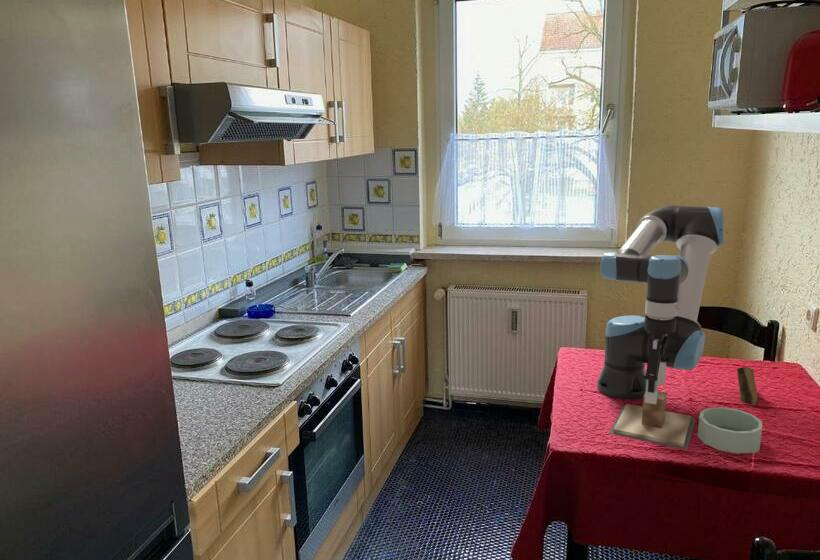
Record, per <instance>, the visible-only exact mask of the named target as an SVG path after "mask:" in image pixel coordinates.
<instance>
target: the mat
mask: <svg viewBox="0 0 820 560" xmlns="http://www.w3.org/2000/svg"><path fill="white" fill-rule="evenodd" d="M625 406H626V404H625V405H622V407H621V409H620V411H619V413H618V415H617V417H616V419H615V420H614V422H613V424H612V426H611V428H610V430H609V431H608V434H610V435H613V436H619V437H623V438H628V439H633V440H637V441H642V442H647V443H652V444H657V445H662V446H667V447H672V448H676V449H679V450H680V449H681V450H686V451H688V449H689V445H690V442H691V438H692V434H693V429H694V426H695V422H696V418H695V417H691V422H690V425H689V429H688V433H687V436H686V440H685V443H684V447H680V446H676V445H671V444H666V443H661V442H656V441H652V440H647V439H642V438H637V437H633V436H628V435H623V434H618V433H614V432H613V431H614V427H615V425H616V423H617V422H618V420H619V418H620V416H621V414H622V412H623V410H624V408H625Z"/></svg>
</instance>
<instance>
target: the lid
mask: <svg viewBox="0 0 820 560" xmlns="http://www.w3.org/2000/svg"><path fill="white" fill-rule="evenodd" d="M645 393H646V392H645ZM667 394H668V393H667V392H662V391H657V403H656V404H651V403H645V395H644V398H642V399H643V401H642V406H640V405H634V404H629V403H626V404H625V408H624V410H623V412H622V414H621V416H620V418H619V420H618V422H617V423H616V425H615V427H614V431H613V432H614V433H618V434H623V435H628V436H633V437H637V438H642V439H647V440H652V441H656V442H661V443H666V444H671V445H676V446H680V447H684V443H685V440H686V436H687V433H688V429H689V425H690V422H691V418H692V415H688V414H683V413H677V412H671V411H666V405H667V396H668V395H667Z"/></svg>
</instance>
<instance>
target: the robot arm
mask: <svg viewBox="0 0 820 560" xmlns="http://www.w3.org/2000/svg"><path fill="white" fill-rule="evenodd" d="M724 212H725V211H724V210H723V209H722V208H721V207H715V206H713V207H712V206H709V205H707V206H692V205H691V206H688V205H673V204H672V205H664V206H661V207H657V208H656V209H654V210H651V211H650V212H647V213H646V214H644V215H643V216H641V218H640V219H639V220H638V221H637V222H636V224H635V228H634V231H633V233H632V234H631V235H630V236H629V237H628V238H627V240H626V241H625V242H624V244H622V246H621V247H620V248H619V250H618V251H617V252H614V251H613V252H605V253H603V255H602V257H601V260H600V264H599V265H600V266H599V269H600V276H601V277H602V278H603V279H605V280H613V281H618V282H619V281H621V282H631V283H632V282H633V283H640V284H646V285H647V286H646V287H647V288H646V297H645V307H644V313H645V316H641V315H621V316H617V317H613V318H611V319H610V320H608V321H607V323H606V327H605V333H604V336H605V341H604V360H603V361H604V362H603V366H602V369H601V372H600V375H599V377H598V378H597V379H598V380H597V383H596V385H597V391H599V392H600V393H601V394H602V395H605V396H607V397H609V398H613V399H618V400H627V401H628V400H630V401H632V400H640V399H643V398H644V395H645V403H651V404H656V403H657V391H658V388H659V386H665V385H666V384H665V383H666V371H667V368H671V369H674V370H684V371H685V370H686V371H692V370H694V369H695V368H696V367H697V366H698V364H699V362H700V360H701V357H702V355H703V352H704V346H705V342H706V333H705V332H704V331H702V326H701V324H700V323H699V322H698V316H699V311H700V308H701V307H700V306H701V301H702V297H703V292H704V287H705V286H704V285H705V281H706V278H707V273H708V272H707V271H708V266H709V261H710V257H711V255H712V254H715V252H717V249H718V247H720V246H724V243H725V213H724ZM662 242H669V243H671V242H672V243H675V244H676V247H677V249H679V253H678V255H675V254H674V255H669V254H657V255H650V254H651V253H652V251H653V250H654V249H655V247H656V246H657V245H659V244H660V243H662ZM646 364H647V365H646ZM645 366H646V367H645ZM645 392H646V393H645ZM658 392H659V391H658Z"/></svg>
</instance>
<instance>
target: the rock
mask: <svg viewBox="0 0 820 560" xmlns="http://www.w3.org/2000/svg"><path fill="white" fill-rule="evenodd" d="M736 372H737V379H738V385H739V386H738V387H739V388H738V389H739V399H740V401H741V402H744V403H746V404H748V405H752V406H756V404H757V402H758V399H759V398H758V397H759V396H758V393H757V392H758V390H757V386H756V379H755V371H754V369H753V368H751V367H749V366H742V367H738V368H737V369H736Z"/></svg>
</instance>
